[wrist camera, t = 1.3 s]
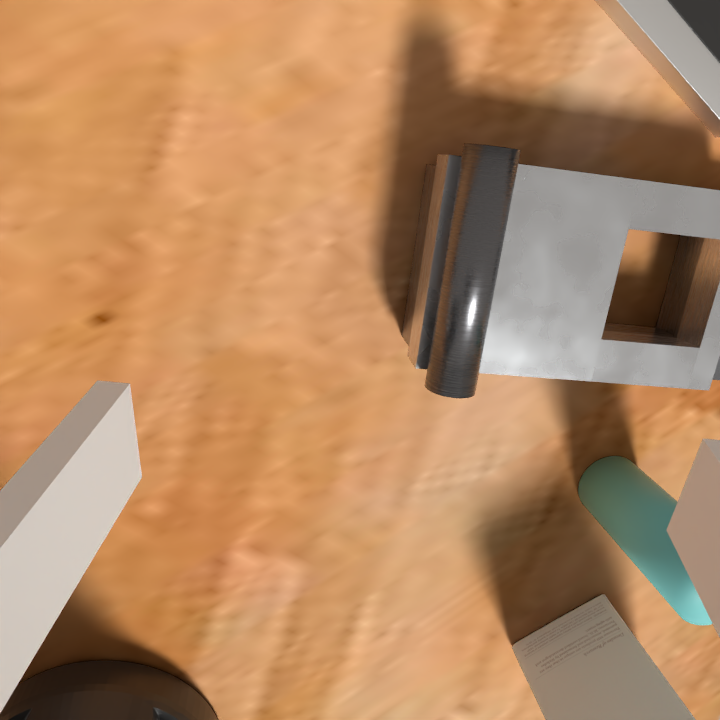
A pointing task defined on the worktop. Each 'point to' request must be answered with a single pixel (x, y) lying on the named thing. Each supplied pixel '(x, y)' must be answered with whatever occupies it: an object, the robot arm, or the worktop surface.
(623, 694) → the supplement box
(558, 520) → the worktop surface
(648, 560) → the pin
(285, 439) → the worktop surface
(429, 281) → the plate with side rollers
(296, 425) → the worktop surface
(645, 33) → the picture frame
